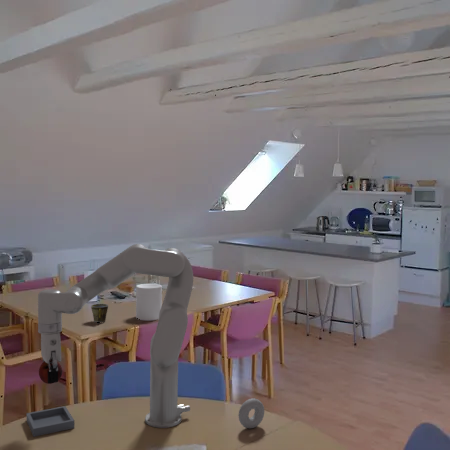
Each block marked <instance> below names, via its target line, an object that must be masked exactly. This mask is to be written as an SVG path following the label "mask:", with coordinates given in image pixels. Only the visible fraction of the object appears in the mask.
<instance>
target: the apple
mask: <svg viewBox="0 0 450 450" xmlns="http://www.w3.org/2000/svg"><path fill="white" fill-rule="evenodd" d="M50 362H52V360H51V361H50ZM51 365H53V364H50V366H51ZM57 365H58V381H59V380H60V379H61V378H62V375H63V367H62V365H61V364H60V362H59V361H57ZM38 369H39V370H38V376H39V379H40V380H41V381H42V382H43V383H45V384H48V385H52V384H53V383H50V384H49V383H48V371H49V369H48V364H47V363H46V362H45V361H44V362H43V361H42V363H41V364H40V366H39V368H38Z"/></svg>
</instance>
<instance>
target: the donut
mask: <svg viewBox="0 0 450 450" xmlns="http://www.w3.org/2000/svg"><path fill="white" fill-rule="evenodd" d="M252 410H254V412H253V413H254V414H253V415H252V416H251V417H249V413H250V412H251V411H252ZM265 412H266V411H265V406H264V404H263V402H261V401H260V400H259V398H258V399H257V398H253V397H252V398H249V399H247V400H245V401H244V402H243V403H242V404H241V406H240V408H239V410H238V421H239V423H240V425H242V427H244V428H245V429H246V428H247V429H253V428H256V427H258V426H259V425H260V424H261V423H262V421H263V419H264V417H265Z"/></svg>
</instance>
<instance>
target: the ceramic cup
mask: <svg viewBox="0 0 450 450" xmlns="http://www.w3.org/2000/svg"><path fill="white" fill-rule="evenodd" d="M90 308H91V312H92V317H93V322H94V323H95V322H104V323H105V322H106V320H107V315H108V310H109V304H106V303H94V304H91V306H90Z"/></svg>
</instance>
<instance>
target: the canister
mask: <svg viewBox="0 0 450 450" xmlns="http://www.w3.org/2000/svg"><path fill="white" fill-rule="evenodd" d="M135 292H136V293H135V294H136V295H135V300H136V301H135V319H137V318H138V319H137V320H139V319H140V320H139V321H156V320H157V321H159V312H160V309H161V307H162V304H163V301H162V300H163V294H162V293H163V286H162V284H159V283H141V284H137V285H136V287H135Z"/></svg>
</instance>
